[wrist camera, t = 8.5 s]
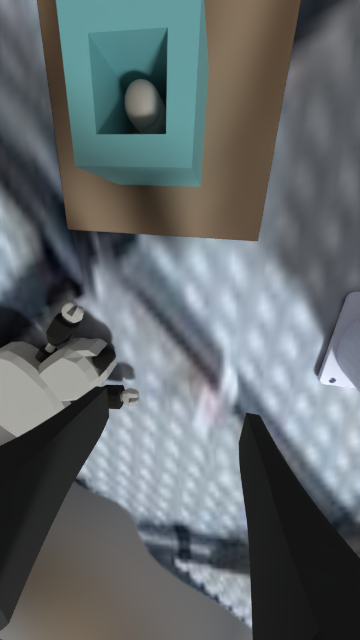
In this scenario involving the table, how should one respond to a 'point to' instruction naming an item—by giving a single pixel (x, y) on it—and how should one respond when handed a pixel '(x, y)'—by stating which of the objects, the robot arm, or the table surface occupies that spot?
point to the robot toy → (54, 374)
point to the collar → (120, 71)
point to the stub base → (219, 136)
